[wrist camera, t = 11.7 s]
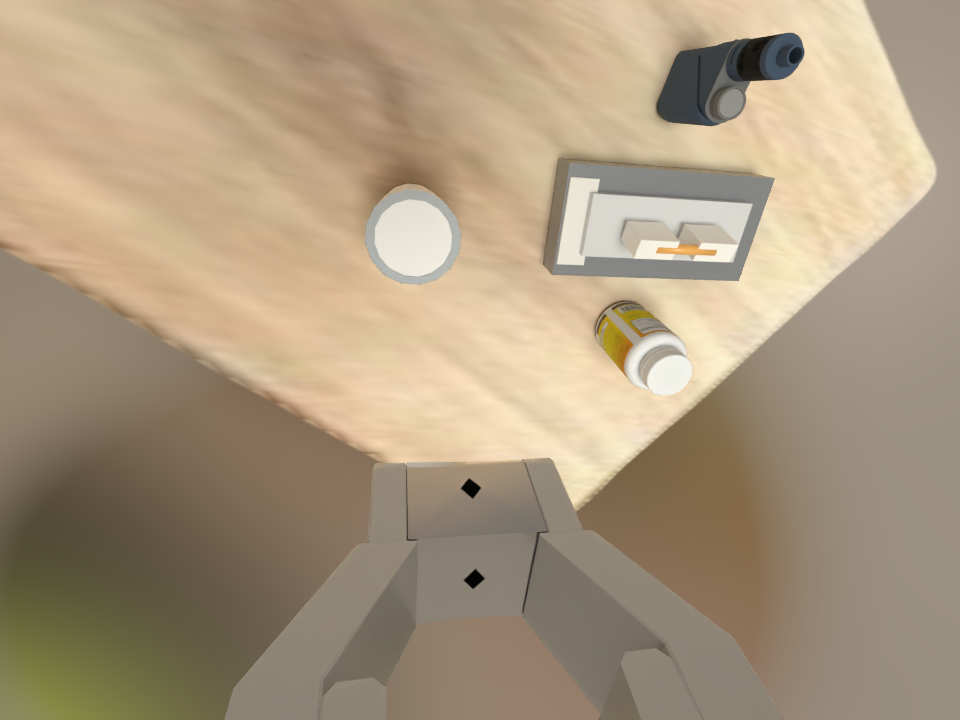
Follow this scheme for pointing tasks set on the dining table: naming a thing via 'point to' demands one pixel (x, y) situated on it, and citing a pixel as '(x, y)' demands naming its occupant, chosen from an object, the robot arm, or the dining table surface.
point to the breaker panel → (647, 217)
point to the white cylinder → (412, 235)
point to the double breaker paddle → (678, 242)
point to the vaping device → (724, 77)
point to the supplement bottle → (644, 348)
